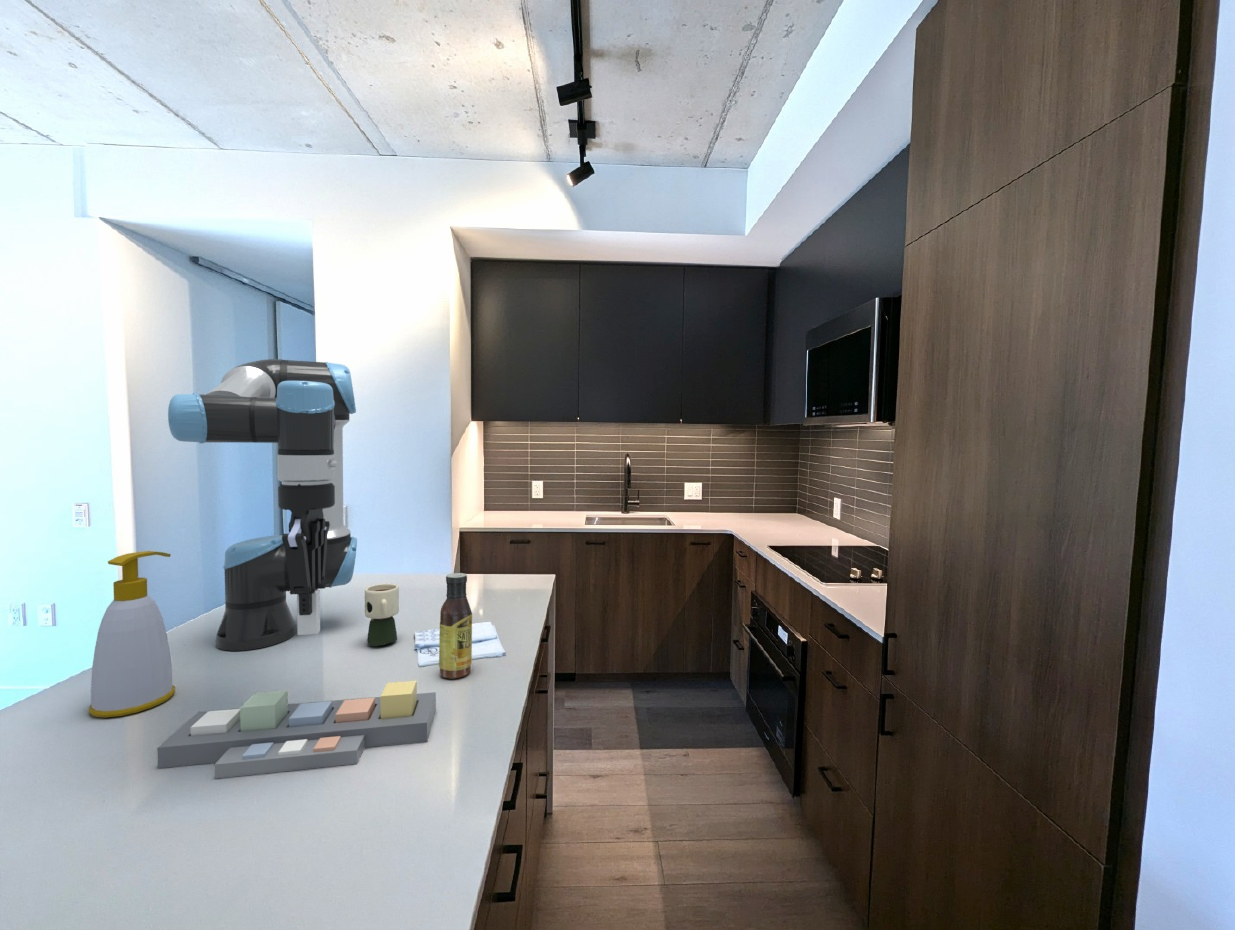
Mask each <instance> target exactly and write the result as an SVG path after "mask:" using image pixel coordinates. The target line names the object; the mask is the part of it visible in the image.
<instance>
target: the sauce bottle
mask: <svg viewBox="0 0 1235 930" xmlns="http://www.w3.org/2000/svg"><path fill="white" fill-rule="evenodd" d="M445 582H446V593H445V594H446V595H445V596H446V599H445V601H444V602H443V603H442V606H441V608H440V612H439V613H440V619H439V620H440V621H439V628H440V637H439V664H438V668H439V675H440V676H441V677H442V678H443V679H451V680H455V679H460V678H462V677H465V676H467V675H469V674H470V672H471V668H472V667H471V665H472V661H473V660H472V624H473V611H472V609H471V607H470V603H469V600H468V597H467V582H468V575H467V573H463V572H455V573H454V572H453V573H450V574H449V573H448V574H447V575H446V576H445Z"/></svg>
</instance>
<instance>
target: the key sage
mask: <svg viewBox="0 0 1235 930" xmlns="http://www.w3.org/2000/svg"><path fill="white" fill-rule="evenodd" d="M288 704H289V703H288V690H279V691H278V690H277V691H267V692H266V691H264V692H263V691H262V692H255V693H254V694H253V695H251V696H250V697H249V699H247V701H245V702H244V704H243V705H241V706H240V707H239V708H240V720H241V732H243V731H254V730H265V729H276V728H277V727H278V726H279V725H280V723H281V722H282V721H283V720H284V718H285V717H286V716H287V715H288Z"/></svg>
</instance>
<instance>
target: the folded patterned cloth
mask: <svg viewBox="0 0 1235 930" xmlns="http://www.w3.org/2000/svg"><path fill="white" fill-rule="evenodd" d="M413 636H414V647H413V648H414V649H415V651H414V654H416V653H417V654H416V655H417V666H418V668H424V667H430V666H435V665H436V666H437V665H439V637H440V627H439V628H434V629H426V630H417V631H413ZM499 637H500V636H499V635H498V632H497V629H496V625H494V624H493V623H492V621H487V622H486V621H483V622H476V623H472V661H473V660H481V659H489V658H492V659H493V658H498V657H500V658H502V657H503V656H507V654H506V653H507V652H506V651H505V649H504V647H503V644H502V642H501V640H500V638H499Z"/></svg>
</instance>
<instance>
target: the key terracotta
mask: <svg viewBox="0 0 1235 930" xmlns="http://www.w3.org/2000/svg"><path fill="white" fill-rule="evenodd" d="M364 698H365V699H359V698H351V699H352V700H347V699H343V700H344V702H343V704H342V705H341V707H340V708H339V710H338V711H337V713H336V715H335V717H336V723H342V722H354V721H365V720H369V719H370V717H371V715H372V713H373V711H374V709H375V698H371V697H364Z"/></svg>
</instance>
